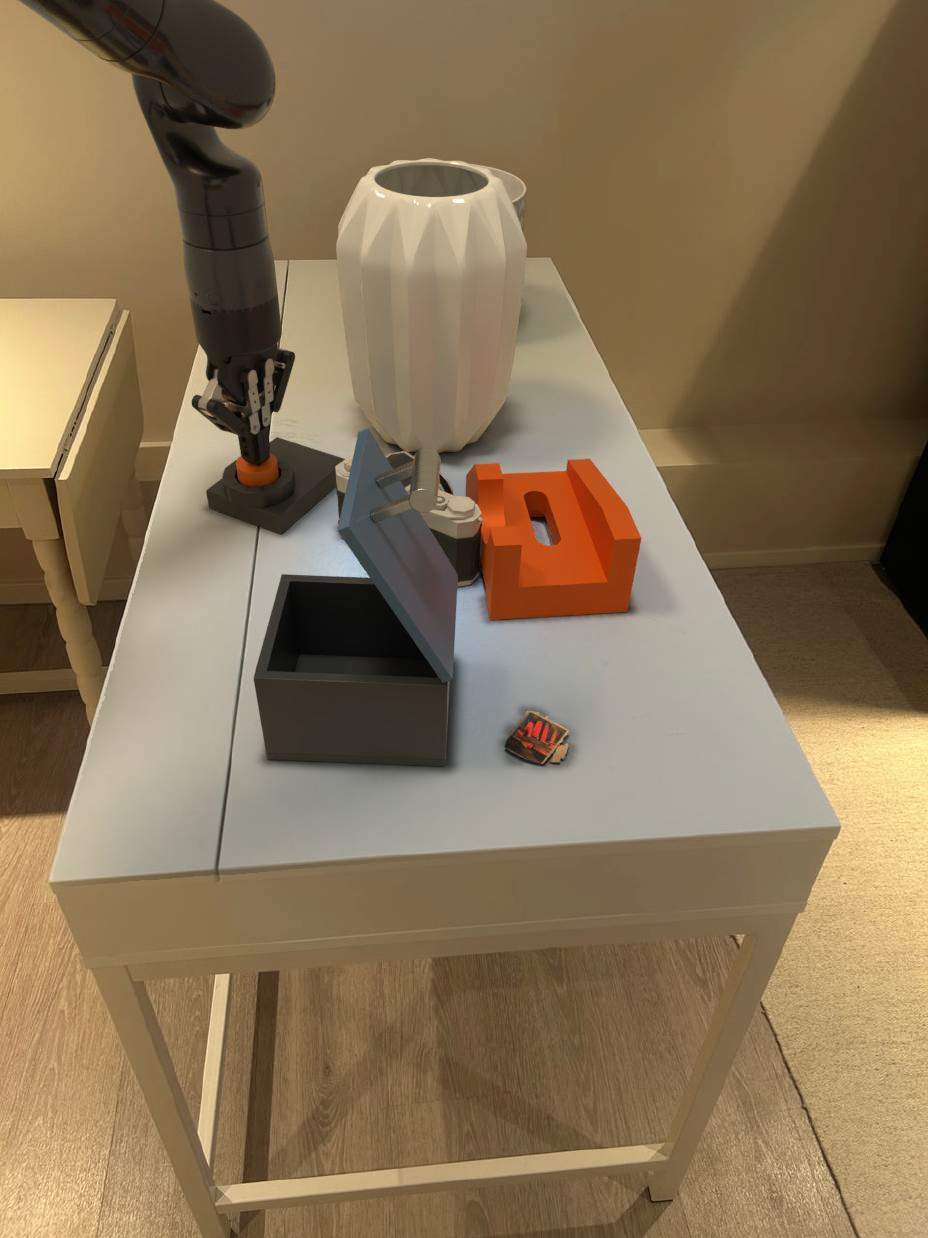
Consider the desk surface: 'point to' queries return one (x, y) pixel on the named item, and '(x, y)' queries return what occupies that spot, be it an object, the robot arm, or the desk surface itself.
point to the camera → (438, 519)
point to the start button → (257, 472)
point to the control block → (277, 488)
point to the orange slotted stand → (583, 542)
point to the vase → (430, 299)
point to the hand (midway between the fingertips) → (256, 460)
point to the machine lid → (403, 545)
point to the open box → (346, 679)
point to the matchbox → (537, 738)
